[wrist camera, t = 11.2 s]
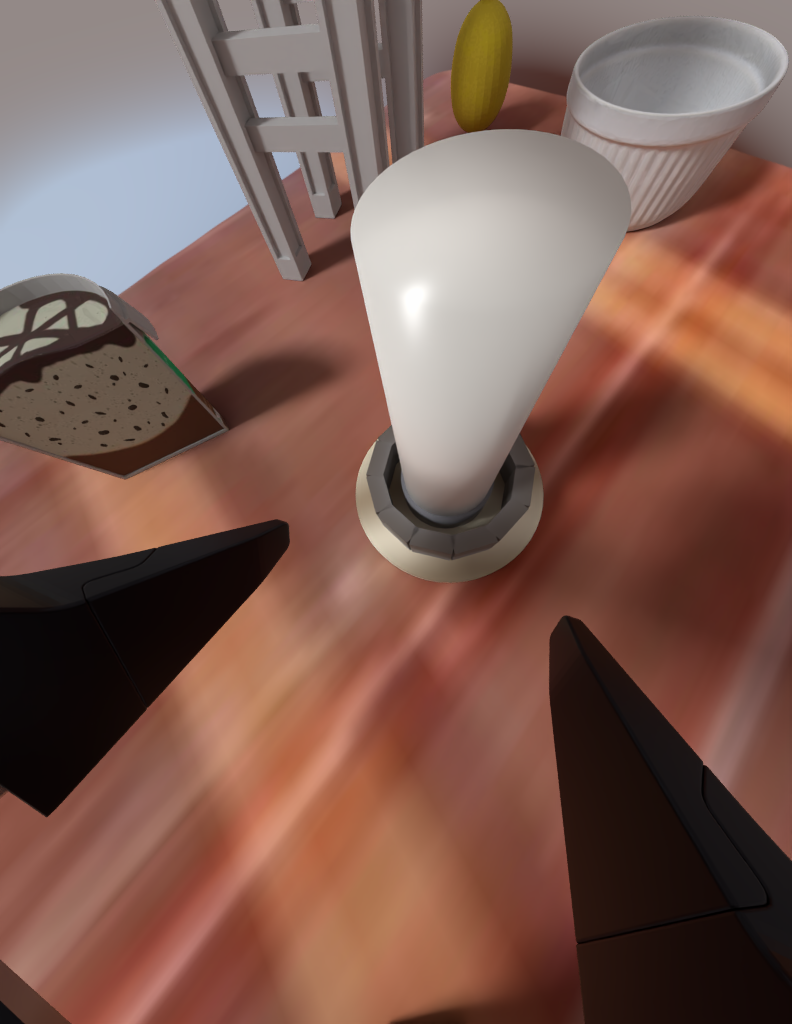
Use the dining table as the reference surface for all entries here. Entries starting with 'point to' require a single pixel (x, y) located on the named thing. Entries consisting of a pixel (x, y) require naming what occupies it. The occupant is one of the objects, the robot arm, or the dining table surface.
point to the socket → (449, 549)
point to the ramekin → (670, 102)
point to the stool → (305, 99)
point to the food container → (92, 380)
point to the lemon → (481, 65)
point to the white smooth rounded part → (478, 295)
